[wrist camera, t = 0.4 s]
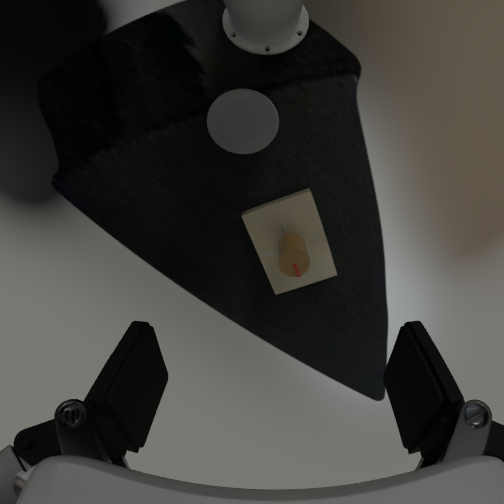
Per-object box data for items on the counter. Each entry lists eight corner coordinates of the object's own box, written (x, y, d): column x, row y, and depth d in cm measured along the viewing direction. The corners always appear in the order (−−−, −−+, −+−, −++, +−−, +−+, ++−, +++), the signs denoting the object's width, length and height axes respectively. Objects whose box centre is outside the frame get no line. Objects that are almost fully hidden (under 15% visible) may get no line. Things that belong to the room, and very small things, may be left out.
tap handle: (274, 239, 43) (274, 255, 38) (301, 230, 42) (305, 245, 37) (283, 263, 45) (284, 282, 40) (309, 254, 44) (314, 272, 39)
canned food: (277, 148, 39) (279, 154, 29) (223, 148, 40) (207, 155, 30) (277, 98, 36) (278, 87, 26) (222, 99, 37) (205, 90, 27)
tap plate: (242, 211, 44) (240, 216, 42) (308, 187, 41) (310, 191, 40) (275, 288, 49) (275, 295, 47) (335, 269, 47) (337, 275, 45)
